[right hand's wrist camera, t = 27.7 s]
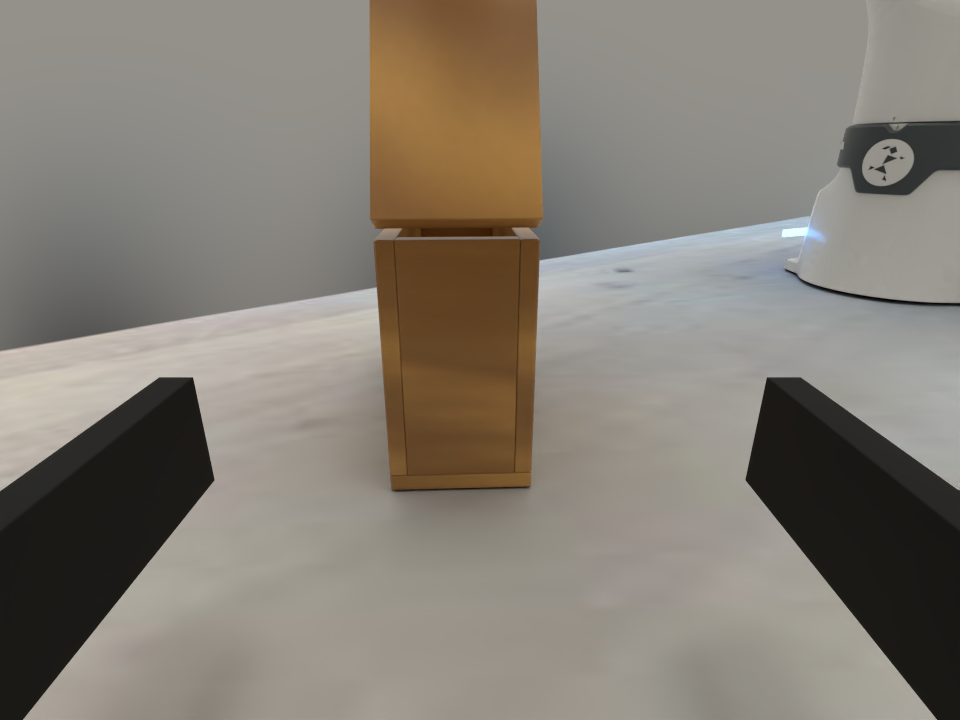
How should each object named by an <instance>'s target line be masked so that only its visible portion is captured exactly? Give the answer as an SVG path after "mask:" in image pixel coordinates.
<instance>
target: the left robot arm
mask: <svg viewBox="0 0 960 720" xmlns="http://www.w3.org/2000/svg"><path fill="white" fill-rule="evenodd" d="M866 4H867V10H868V24H869V31H868V43H867V50H866V57H865V63H864V69H863V74H862V80H861V85H860V90H859V96H858V101H857V105H856V110H855V115H854V119H853V123H852V126H849V127H848V128H847V129H846V131H845V134H844V138H843V142H841V145H840V149H841V150H840V154H839V158H838V163H837V165H838V166H839V167H841V169H840V172H839V173H838V174H837V176H836V177H835V179H834V180H833V181H832V182H831V183H830V184H828V185H827V186H825V187H824V188H823V189H821V190H820V191H819V193H818V195H817V197H816V200H815V204H814V207H813V210H812V213H811V217H810V220H809V223H808V227H807V228H798V229H786V230H783V233H782V237H789V236H800V235H805V237H804V240H803V244H802V247H801V250H800V254H799V257H798V258H790V259H787V262H786V265H785V269H787V270H790V271H792V272H795V273H797V274H798V276H799V277H800V278H801V279H802V280H804V281H806V282H809V283H811V284H814V285H818V286H821V287H825V288H829V289H833V290H837V291H842V292H847V293H852V294H858V295H864V296H871V297H878V298H886V299H894V300H904V301H916V302H933V303H960V0H866Z"/></svg>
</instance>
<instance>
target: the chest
mask: <svg viewBox="0 0 960 720" xmlns="http://www.w3.org/2000/svg"><path fill="white" fill-rule="evenodd" d="M374 253H375V267H376V281H377V295H378V310H379V324H380V338H381V352H382V366H383V380H384V394H385V408H386V422H387V436H388V450H389V464H390V475H391V488H392V490H409V489H448V488H487V487H526V486H530V485H531V463H532V437H533V412H534V386H535V361H536V335H537V309H538V284H539V258H540V239H539V238H538V237H537V236H536V235H535V234H534V233H533V232H532V231H531V230H530V229H529V228H394V229H384V230H383V231H382V232H381V233H380V235H379V236H378V237H377V238H376V239H375V240H374Z"/></svg>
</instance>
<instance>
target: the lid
mask: <svg viewBox="0 0 960 720" xmlns="http://www.w3.org/2000/svg"><path fill="white" fill-rule="evenodd" d="M542 219H543V199H542V167H541V134H540V102H539V70H538V37H537V4H536V0H370V220H371V222H372V224H373V226H374V228H375V229H394V228H538V227H539V226H540V224H541V221H542Z"/></svg>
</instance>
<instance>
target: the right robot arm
mask: <svg viewBox="0 0 960 720" xmlns="http://www.w3.org/2000/svg"><path fill="white" fill-rule="evenodd" d="M213 481H214V475H213V470H212V466H211V461H210V456H209V451H208V447H207V442H206V437H205V432H204V428H203V423H202V418H201V413H200V409H199V404H198V399H197V394H196V390H195V385H194V380H193V378H158V379H157V380H155V381H154V382H152V383H151V384H150V385H148V386H147V387H145V388H144V389H143V390H141V391H140V392H138V393H137V394H136V395H134V396H133V397H131V398H130V399H129V400H127V401H126V402H124V403H123V404H122V405H120V406H119V407H118V408H116V409H115V410H113V411H112V412H111V413H109V414H108V415H106V416H105V417H104V418H102V419H101V420H99V421H98V422H97V423H95V424H94V425H92V426H91V427H90V428H88V429H87V430H85V431H84V432H83V433H81V434H80V435H78V436H77V437H76V438H74V439H73V440H71V441H70V442H69V443H67V444H66V445H64V446H63V447H62V448H60V449H59V450H57V451H56V452H55V453H53V454H52V455H50V456H49V457H48V458H46V459H45V460H43V461H42V462H41V463H39V464H38V465H36V466H35V467H34V468H32V469H31V470H29V471H28V472H27V473H25V474H24V475H22V476H21V477H20V478H18V479H17V480H15V481H14V482H13V483H11V484H10V485H8V486H7V487H6V488H4V489H3V490H1V491H0V720H23V719H24V718H25V716H26V715H27V714H28V713H29V711H30V710H31V709H32V708H33V706H34V705H35V704H36V703H37V701H38V700H39V699H40V698H41V696H42V695H43V694H44V693H45V691H46V690H47V689H48V688H49V686H50V685H51V684H52V683H53V681H54V680H55V679H56V678H57V676H58V675H59V674H60V673H61V671H62V670H63V669H64V668H65V666H66V665H67V664H68V663H69V661H70V660H71V659H72V658H73V656H74V655H75V654H76V653H77V651H78V650H79V649H80V648H81V646H82V645H83V644H84V643H85V641H86V640H87V639H88V638H89V636H90V635H91V634H92V633H93V631H94V630H95V629H96V628H97V626H98V625H99V624H100V623H101V621H102V620H103V619H104V618H105V616H106V615H107V614H108V613H109V611H110V610H111V609H112V608H113V606H114V605H115V604H116V603H117V601H118V600H119V599H120V598H121V596H122V595H123V594H124V593H125V591H126V590H127V589H128V588H129V586H130V585H131V584H132V583H133V581H134V580H135V579H136V578H137V576H138V575H139V574H140V573H141V571H142V570H143V569H144V568H145V566H146V565H147V564H148V563H149V561H150V560H151V559H152V558H153V556H154V555H155V554H156V553H157V551H158V550H159V549H160V548H161V546H162V545H163V544H164V543H165V541H166V540H167V539H168V538H169V536H170V535H171V534H172V533H173V531H174V530H175V529H176V528H177V526H178V525H179V524H180V523H181V521H182V520H183V519H184V518H185V516H186V515H187V514H188V513H189V511H190V510H191V509H192V508H193V506H194V505H195V504H196V503H197V501H198V500H199V499H200V498H201V496H202V495H203V494H204V493H205V491H206V490H207V489H208V488H209V486H210V485H211V484H212V483H213ZM746 481H747V483H748V484H749V485H750V486H751V488H752V489H753V490H754V491H755V493H756V494H757V495H758V496H759V498H760V499H761V500H762V501H763V503H764V504H765V505H766V506H767V508H768V509H769V510H770V511H771V513H772V514H773V515H774V516H775V518H776V519H777V520H778V521H779V523H780V524H781V525H782V526H783V528H784V529H785V530H786V531H787V533H788V534H789V535H790V536H791V538H792V539H793V540H794V541H795V543H796V544H797V545H798V546H799V548H800V549H801V550H802V551H803V553H804V554H805V555H806V556H807V558H808V559H809V560H810V561H811V563H812V564H813V565H814V566H815V568H816V569H817V570H818V571H819V573H820V574H821V575H822V576H823V578H824V579H825V580H826V581H827V583H828V584H829V585H830V586H831V588H832V589H833V590H834V591H835V593H836V594H837V595H838V596H839V598H840V599H841V600H842V601H843V603H844V604H845V605H846V606H847V608H848V609H849V610H850V611H851V613H852V614H853V615H854V616H855V618H856V619H857V620H858V621H859V623H860V624H861V625H862V626H863V628H864V629H865V630H866V631H867V633H868V634H869V635H870V636H871V638H872V639H873V640H874V641H875V643H876V644H877V645H878V646H879V648H880V649H881V650H882V651H883V653H884V654H885V655H886V656H887V658H888V659H889V660H890V661H891V663H892V664H893V665H894V666H895V668H896V669H897V670H898V671H899V673H900V674H901V675H902V676H903V678H904V679H905V680H906V681H907V683H908V684H909V685H910V686H911V688H912V689H913V690H914V691H915V693H916V694H917V695H918V696H919V698H920V699H921V700H922V701H923V703H924V704H925V705H926V706H927V708H928V709H929V710H930V711H931V713H932V714H933V715H934V716H935V718H936V719H937V720H960V490H957V489H956V488H954V487H953V486H952V485H950V484H949V483H947V482H946V481H945V480H943V479H942V478H940V477H939V476H938V475H936V474H935V473H933V472H932V471H931V470H929V469H928V468H926V467H925V466H924V465H922V464H921V463H919V462H918V461H917V460H915V459H914V458H912V457H911V456H910V455H908V454H907V453H905V452H904V451H903V450H901V449H900V448H898V447H897V446H896V445H894V444H893V443H891V442H890V441H889V440H887V439H886V438H884V437H883V436H882V435H880V434H879V433H877V432H876V431H875V430H873V429H872V428H870V427H869V426H868V425H866V424H865V423H863V422H862V421H861V420H859V419H858V418H856V417H855V416H854V415H852V414H851V413H849V412H848V411H847V410H845V409H844V408H842V407H841V406H840V405H838V404H837V403H836V402H834V401H833V400H831V399H830V398H829V397H827V396H826V395H824V394H823V393H822V392H820V391H819V390H817V389H816V388H815V387H813V386H812V385H810V384H809V383H808V382H806V381H805V380H803V379H802V378H767V380H766V385H765V390H764V394H763V399H762V404H761V409H760V413H759V418H758V423H757V428H756V432H755V437H754V442H753V447H752V451H751V456H750V461H749V466H748V470H747V475H746Z"/></svg>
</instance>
